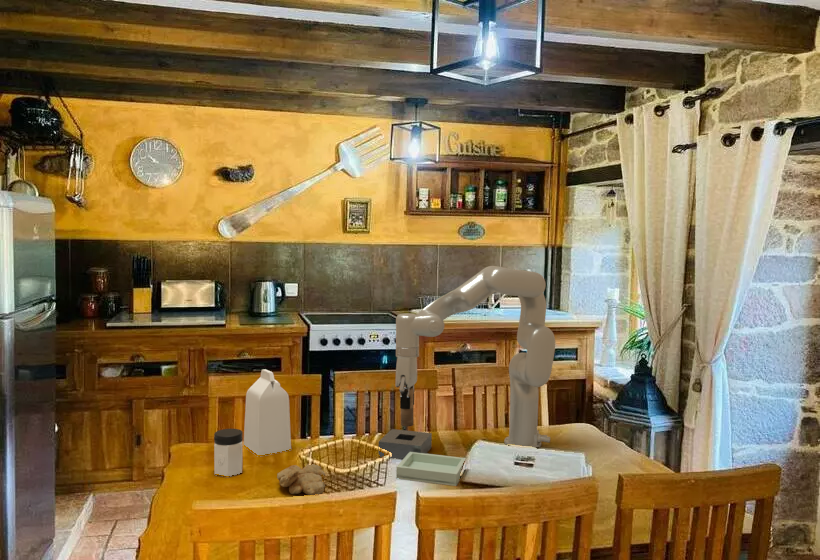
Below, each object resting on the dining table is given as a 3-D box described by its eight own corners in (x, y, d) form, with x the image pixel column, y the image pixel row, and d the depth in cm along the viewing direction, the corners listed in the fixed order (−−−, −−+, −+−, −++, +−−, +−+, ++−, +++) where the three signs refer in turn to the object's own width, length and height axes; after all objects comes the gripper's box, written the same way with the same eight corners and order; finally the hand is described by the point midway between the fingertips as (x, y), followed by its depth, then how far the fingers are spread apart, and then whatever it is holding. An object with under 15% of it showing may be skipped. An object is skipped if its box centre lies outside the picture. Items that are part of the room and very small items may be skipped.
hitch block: (431, 447, 221) (431, 433, 221) (420, 461, 208) (420, 446, 207) (391, 443, 225) (391, 429, 225) (378, 456, 212) (378, 441, 211)
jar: (207, 474, 194) (207, 434, 193) (223, 465, 201) (223, 427, 200) (234, 478, 191) (233, 438, 190) (249, 469, 199) (249, 430, 198)
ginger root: (282, 472, 193) (288, 447, 192) (332, 488, 191) (339, 463, 190) (261, 494, 178) (268, 467, 177) (316, 513, 176) (323, 485, 175)
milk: (243, 446, 219) (243, 369, 217) (275, 440, 226) (275, 365, 224) (258, 456, 210) (258, 376, 208) (291, 450, 216) (291, 372, 214)
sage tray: (465, 469, 202) (466, 458, 201) (456, 486, 188) (456, 474, 188) (409, 462, 207) (409, 451, 206) (396, 478, 193) (396, 466, 193)
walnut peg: (414, 423, 217) (414, 387, 216) (411, 426, 213) (411, 390, 212) (403, 422, 218) (403, 386, 217) (399, 425, 214) (399, 389, 213)
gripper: (403, 346, 223) (403, 399, 224) (388, 355, 207) (388, 412, 208) (425, 347, 221) (424, 401, 222) (411, 357, 205) (411, 414, 206)
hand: (407, 406), depth 215 cm, fingers closed on walnut peg, 4 cm apart
